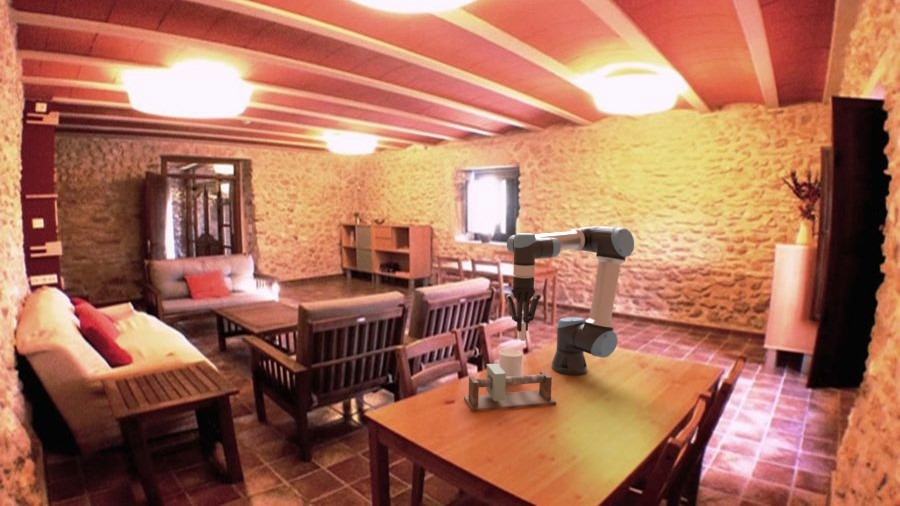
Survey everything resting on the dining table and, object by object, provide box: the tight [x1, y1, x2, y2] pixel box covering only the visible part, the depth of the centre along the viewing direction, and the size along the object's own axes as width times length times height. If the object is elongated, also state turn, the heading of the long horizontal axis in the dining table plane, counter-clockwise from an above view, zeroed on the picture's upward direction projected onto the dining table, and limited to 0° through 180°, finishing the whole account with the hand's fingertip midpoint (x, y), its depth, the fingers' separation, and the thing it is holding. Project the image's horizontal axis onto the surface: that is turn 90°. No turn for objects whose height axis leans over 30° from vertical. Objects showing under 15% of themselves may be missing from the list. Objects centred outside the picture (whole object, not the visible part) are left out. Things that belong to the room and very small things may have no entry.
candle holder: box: [498, 348, 524, 377], centre depth 185 cm, size 10×10×12 cm
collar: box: [485, 363, 507, 401], centre depth 163 cm, size 4×10×10 cm, turn 13°
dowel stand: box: [463, 370, 557, 413], centre depth 165 cm, size 32×11×10 cm, turn 103°
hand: (522, 339), depth 164 cm, fingers closed
